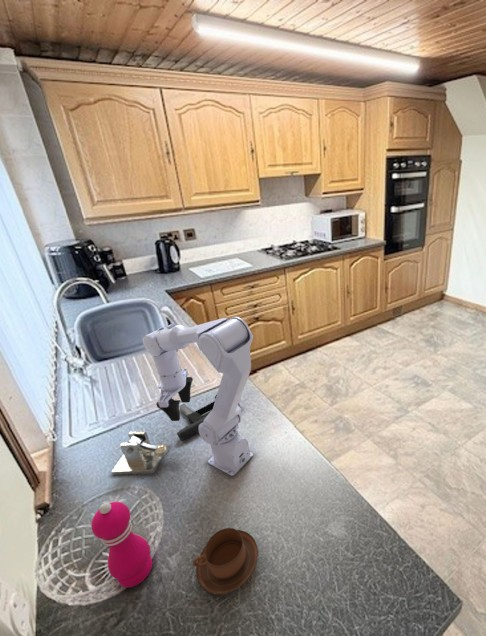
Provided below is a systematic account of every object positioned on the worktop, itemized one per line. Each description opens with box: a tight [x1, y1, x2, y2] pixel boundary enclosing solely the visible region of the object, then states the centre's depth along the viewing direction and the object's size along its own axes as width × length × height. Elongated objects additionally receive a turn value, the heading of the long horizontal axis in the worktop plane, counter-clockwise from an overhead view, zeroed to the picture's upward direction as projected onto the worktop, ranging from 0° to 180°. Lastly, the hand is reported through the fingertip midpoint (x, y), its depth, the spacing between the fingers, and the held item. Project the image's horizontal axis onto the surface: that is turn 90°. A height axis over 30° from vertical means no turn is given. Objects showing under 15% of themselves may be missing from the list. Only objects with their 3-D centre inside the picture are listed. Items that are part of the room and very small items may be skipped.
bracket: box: [111, 430, 169, 475], centre depth 94 cm, size 11×9×8 cm
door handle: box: [176, 394, 241, 441], centre depth 111 cm, size 3×20×16 cm
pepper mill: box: [91, 501, 153, 589], centre depth 66 cm, size 7×7×20 cm
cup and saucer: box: [192, 527, 259, 595], centre depth 69 cm, size 12×12×6 cm
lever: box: [127, 436, 169, 458], centre depth 93 cm, size 10×3×3 cm, turn 91°
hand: (181, 410), depth 98 cm, fingers open, 7 cm apart
